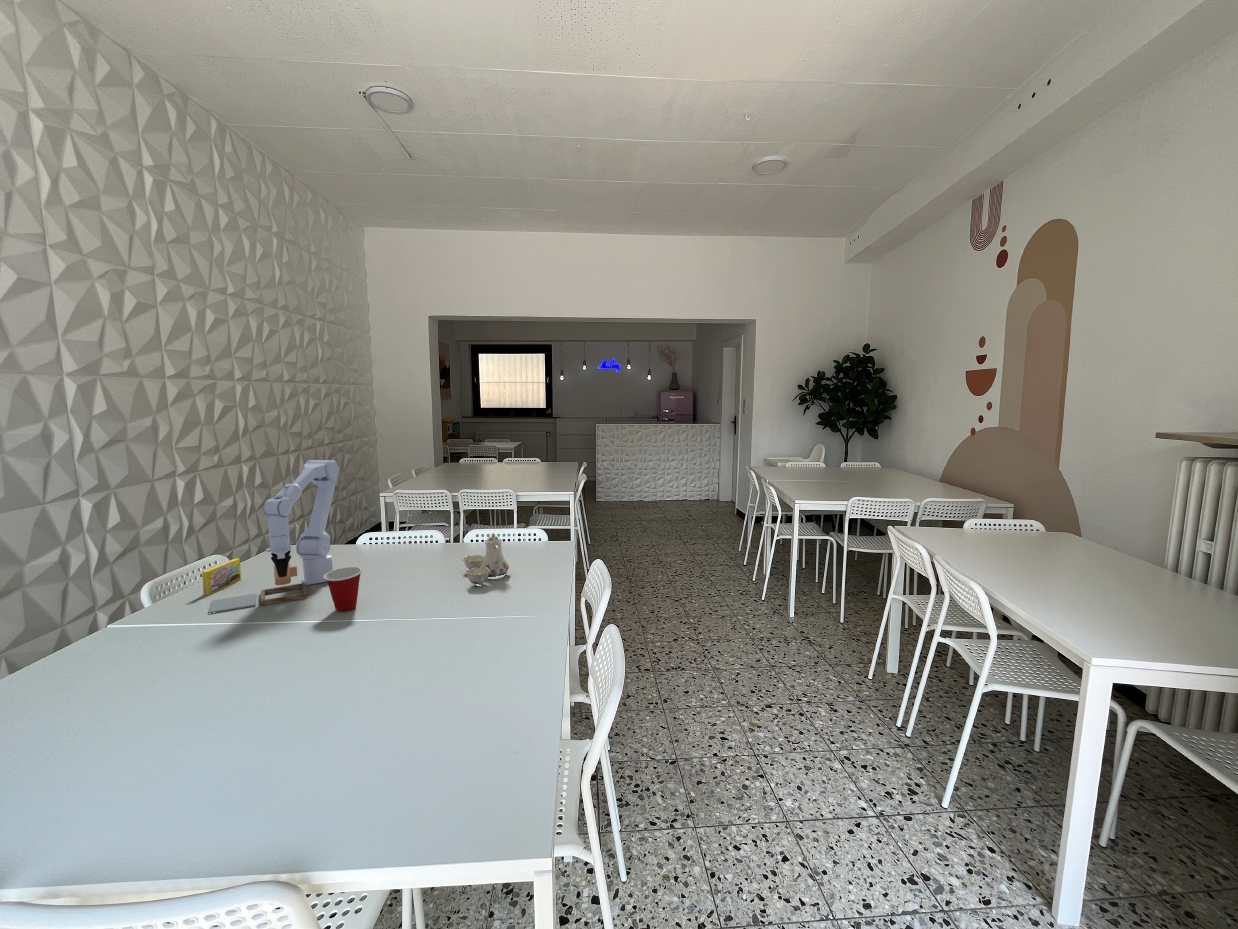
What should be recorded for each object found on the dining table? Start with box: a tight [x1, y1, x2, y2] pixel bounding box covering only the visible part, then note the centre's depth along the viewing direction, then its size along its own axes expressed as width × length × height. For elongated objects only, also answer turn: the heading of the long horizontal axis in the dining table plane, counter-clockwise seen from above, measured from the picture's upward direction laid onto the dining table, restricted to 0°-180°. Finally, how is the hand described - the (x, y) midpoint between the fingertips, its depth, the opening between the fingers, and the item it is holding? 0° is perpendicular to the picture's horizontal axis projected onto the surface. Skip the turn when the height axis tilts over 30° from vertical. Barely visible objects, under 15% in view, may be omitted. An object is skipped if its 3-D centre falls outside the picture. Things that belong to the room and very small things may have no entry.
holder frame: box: [260, 582, 308, 606], centre depth 188 cm, size 13×13×2 cm
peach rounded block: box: [273, 563, 298, 586], centre depth 187 cm, size 6×5×6 cm
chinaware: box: [461, 532, 510, 587], centre depth 206 cm, size 28×17×17 cm, turn 24°
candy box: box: [201, 558, 242, 596], centre depth 196 cm, size 16×2×8 cm, turn 179°
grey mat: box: [208, 593, 257, 614], centre depth 180 cm, size 12×12×1 cm
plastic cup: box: [324, 566, 362, 613], centre depth 175 cm, size 11×11×12 cm
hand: (282, 574), depth 187 cm, fingers closed on peach rounded block, 5 cm apart
